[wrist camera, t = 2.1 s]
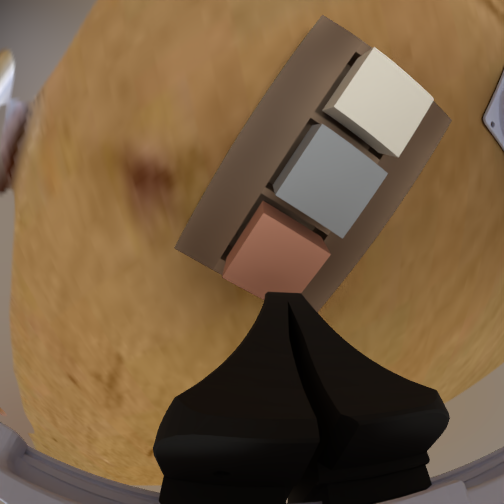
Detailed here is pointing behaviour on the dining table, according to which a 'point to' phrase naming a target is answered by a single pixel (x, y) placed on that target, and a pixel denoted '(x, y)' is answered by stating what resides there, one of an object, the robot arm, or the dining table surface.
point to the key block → (281, 150)
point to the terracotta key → (274, 254)
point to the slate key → (329, 179)
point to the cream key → (379, 103)
